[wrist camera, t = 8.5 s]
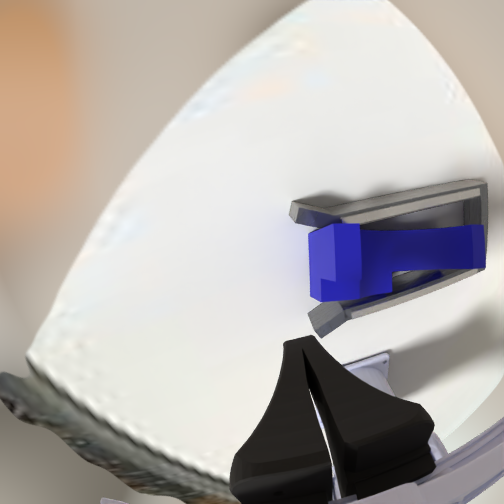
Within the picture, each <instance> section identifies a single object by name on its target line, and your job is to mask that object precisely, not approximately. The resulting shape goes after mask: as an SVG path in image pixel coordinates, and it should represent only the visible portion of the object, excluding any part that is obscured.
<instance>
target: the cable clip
mask: <svg viewBox="0 0 504 504" xmlns="http://www.w3.org/2000/svg"><path fill="white" fill-rule="evenodd" d="M308 241H309V266H310V296H311V297H313V298H314V299H316V300H318V301H320V302H330V301H342V300H353V299H361V298H363V297H366V296H371V295H376V294H382V293H389V292H392V272H395V271H411V270H434V269H480V268H486V256H485V235H484V225H474V224H471V225H464V226H456V227H447V228H435V229H420V230H394V231H378V230H361V229H360V223H340V224H331V225H329V226H326V227H324V228H321V229H319V230H316V231H314V232H312V233H309V234H308Z"/></svg>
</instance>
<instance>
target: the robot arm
mask: <svg viewBox="0 0 504 504" xmlns="http://www.w3.org/2000/svg"><path fill="white" fill-rule="evenodd" d="M283 347H284V351H283V361H282V366H281V371H280V375H279V379H278V382H277V385H276V388H275V391H274V394H273V396H272V399H271V401H270V403H269V406H268V408H267V409H266V411H265V413H264V415H263V417H262V419H261V421H260V422H259V424H258V425H257V427H256V428H255V430H254V431H253V433H252V434H251V436H250V437H249V438H248V440H247V441H246V442H245V443H244V445H243V446H242V447H241V448H240V449H239V450H238V452H237V453H236V454H235V456H234V459H233V463H232V467H231V472H230V491H231V493H232V494H233V495H234V496H235V497H236V498H237V499H238V500H239V501H240V502H241V503H242V504H466V503H468V502H469V501H471V500H472V499H474V498H475V497H476V496H478V495H479V494H481V493H482V492H483V491H485V490H486V489H487V488H489V487H490V486H491V485H493V484H494V483H495V482H497V481H498V480H499V479H500V478H501V477H503V476H504V417H503V418H502V419H500V420H499V421H498V422H496V423H495V424H494V425H492V426H491V427H490V428H488V429H487V430H485V431H484V432H483V433H481V434H480V435H478V436H477V437H475V438H474V439H472V440H471V441H469V442H467V443H466V444H465V445H463V446H461V447H460V448H458V449H456V450H454V451H453V452H451V453H449V454H448V453H447V451H446V449H445V447H444V445H443V443H442V442H441V440H440V439H439V437H438V436H437V435H436V433H435V432H433V430H434V426H435V425H434V422H433V420H432V418H431V417H430V415H429V414H428V413H427V412H426V410H425V409H424V408H423V407H422V406H421V405H420V404H418V403H414V402H410V401H407V400H403V399H400V398H397V397H396V396H395V394H394V393H393V391H392V389H391V387H390V386H389V384H388V382H387V379H388V369H389V354H388V353H383V354H380V355H377V356H374V357H371V358H368V359H365V360H362V361H359V362H356V363H353V364H350V365H346V366H342V365H341V364H340V363H339V362H338V361H336V360H335V359H334V358H333V357H332V356H331V355H330V354H329V353H328V352H327V351H326V350H325V349H324V348H323V347H322V345H321V344H320V343H319V342H318V341H317V339H316V338H315V336H313V335H309V336H305V337H301V338H297V339H293V340H289V341H285V342H284V343H283ZM309 389H310V391H309ZM310 392H311V395H312V397H313V400H314V402H315V405H316V411H317V414H316V411H315V408H314V405H313V401H312V398H311V395H310ZM321 428H324V429H325V432H326V436H327V440H328V444H329V448H330V452H331V456H332V460H333V465H334V466H332V463H331V459H330V455H329V451H328V448H327V445H326V442H325V439H324V436H323V433H322V430H321ZM332 470H333V474H334V476H332ZM100 504H128V503H125V502H122V501H117V500H112V499H108V498H101V502H100Z"/></svg>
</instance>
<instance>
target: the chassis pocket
mask: <svg viewBox="0 0 504 504" xmlns="http://www.w3.org/2000/svg"><path fill="white" fill-rule="evenodd" d="M463 200H464V225H471V224H474V225H484V235H485V256H486V251H487V235H488V189H487V183H484V182H480V181H475V180H470V179H467V180H462V181H456V182H451V183H445V184H440V185H435V186H429V187H424V188H419V189H414V190H409V191H404V192H399V193H394V194H389V195H384V196H379V197H374V198H370V199H365V200H360V201H355V202H351V203H346V204H341V205H337V206H332V207H328V208H320V207H316V206H311V205H307V204H303V203H298V202H294V201H292V203H291V207H290V212H289V216H290V217H291V218H292V220H293V221H294V222H295V223H298V224H303V225H307V226H312V227H317V228H324V227H326V226H329V225H331V224H340V223H360V225H362V224H366V223H371V222H375V221H379V220H383V219H388V218H392V217H396V216H400V215H404V214H409V213H413V212H417V211H421V210H425V209H430V208H434V207H438V206H442V205H446V204H451V203H455V202H459V201H463ZM483 270H485V268H480V269H434V270H414V271H411V272H408V273H405V274H402V275H399V276H396V277H393V278H392V292H389V293H382V294H376V295H371V296H366V297H363V298H361V299H353V300H342V301H330V302H323V303H322V304H320V305H319V306H317V307H316V308H315V309H313V310H312V311H310V312H309V313H308V316H309V318H310V321H311V323H312V326H313V328H314V331H315V332H316V333H317V334H318V335H319V337H320V338H323V337H324V336H326V335H327V334H329V333H330V332H332V331H333V330H335V329H336V328H337V327H339V326H340V325H342V324H343V323H344V322H346V321H347V320H351V319H355V318H358V317H362V316H365V315H368V314H371V313H374V312H377V311H380V310H383V309H386V308H389V307H392V306H395V305H398V304H401V303H404V302H407V301H409V300H412V299H415V298H418V297H420V296H423V295H426V294H428V293H431V292H433V291H436V290H439V289H441V288H444V287H446V286H449V285H451V284H453V283H456V282H458V281H461V280H463V279H465V278H468V277H470V276H472V275H474V274H477V273H478V272H480V271H483Z"/></svg>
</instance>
